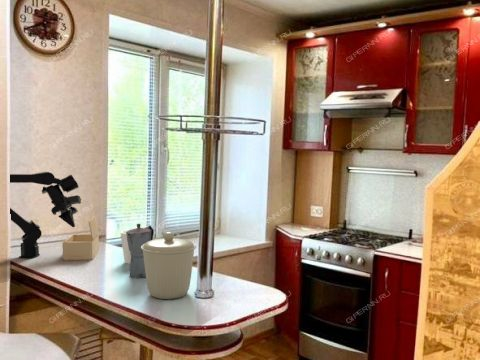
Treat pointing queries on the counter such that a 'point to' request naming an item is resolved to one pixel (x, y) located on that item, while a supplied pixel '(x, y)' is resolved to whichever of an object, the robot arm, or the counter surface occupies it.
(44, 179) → the robot arm
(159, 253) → the canister
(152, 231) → the moka pot
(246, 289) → the counter surface
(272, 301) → the counter surface
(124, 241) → the foam cup
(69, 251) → the carton
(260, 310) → the counter surface
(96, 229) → the carton flap
